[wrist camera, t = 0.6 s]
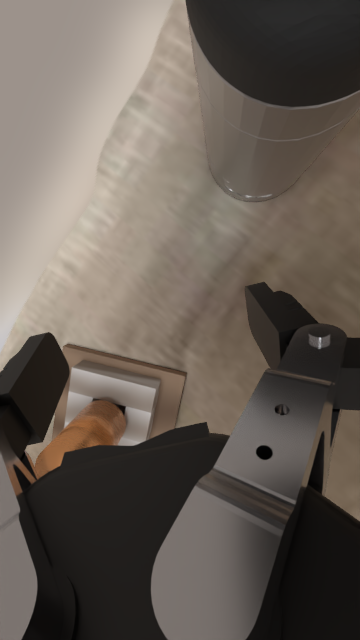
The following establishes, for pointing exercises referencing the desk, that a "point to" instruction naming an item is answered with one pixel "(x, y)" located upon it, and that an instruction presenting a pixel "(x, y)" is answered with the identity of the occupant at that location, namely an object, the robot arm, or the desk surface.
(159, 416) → the tool board
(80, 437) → the copper cup
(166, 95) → the desk surface
